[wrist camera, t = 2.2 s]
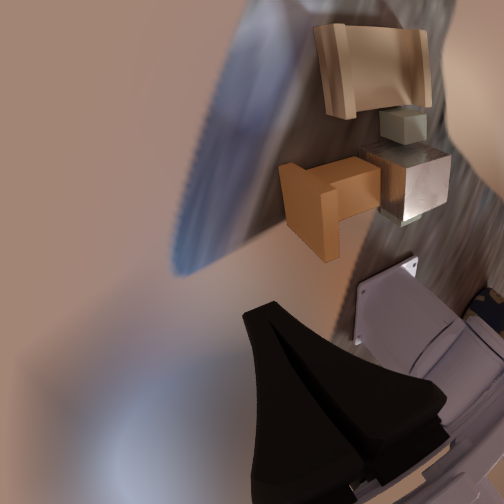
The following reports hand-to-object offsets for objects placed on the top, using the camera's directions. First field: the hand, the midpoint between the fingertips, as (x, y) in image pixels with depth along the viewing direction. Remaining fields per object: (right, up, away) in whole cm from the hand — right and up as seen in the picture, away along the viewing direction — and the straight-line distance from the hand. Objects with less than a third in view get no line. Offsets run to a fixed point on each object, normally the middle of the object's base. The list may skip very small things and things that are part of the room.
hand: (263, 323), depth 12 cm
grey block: (+10, +10, +10) cm, 17 cm away
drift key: (+5, +8, +9) cm, 13 cm away
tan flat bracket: (+8, +16, +5) cm, 18 cm away
